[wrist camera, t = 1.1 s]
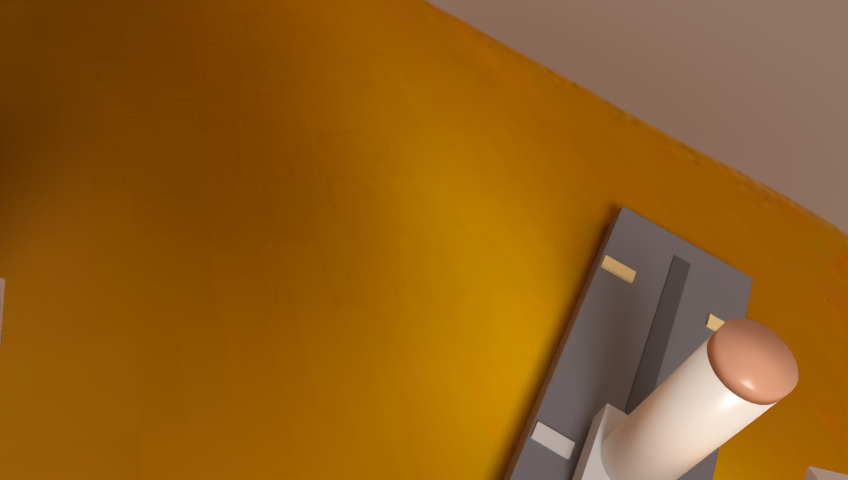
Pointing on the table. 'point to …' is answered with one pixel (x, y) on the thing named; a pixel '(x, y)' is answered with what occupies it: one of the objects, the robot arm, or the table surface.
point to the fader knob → (692, 407)
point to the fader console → (626, 340)
